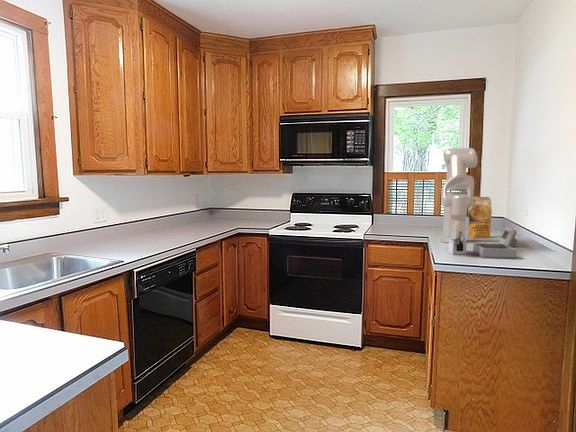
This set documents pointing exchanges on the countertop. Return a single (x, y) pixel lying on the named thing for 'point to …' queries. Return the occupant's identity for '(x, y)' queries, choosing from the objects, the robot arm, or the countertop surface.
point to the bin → (494, 251)
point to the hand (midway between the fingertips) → (457, 249)
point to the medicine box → (453, 247)
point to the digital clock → (508, 237)
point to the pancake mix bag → (480, 218)
